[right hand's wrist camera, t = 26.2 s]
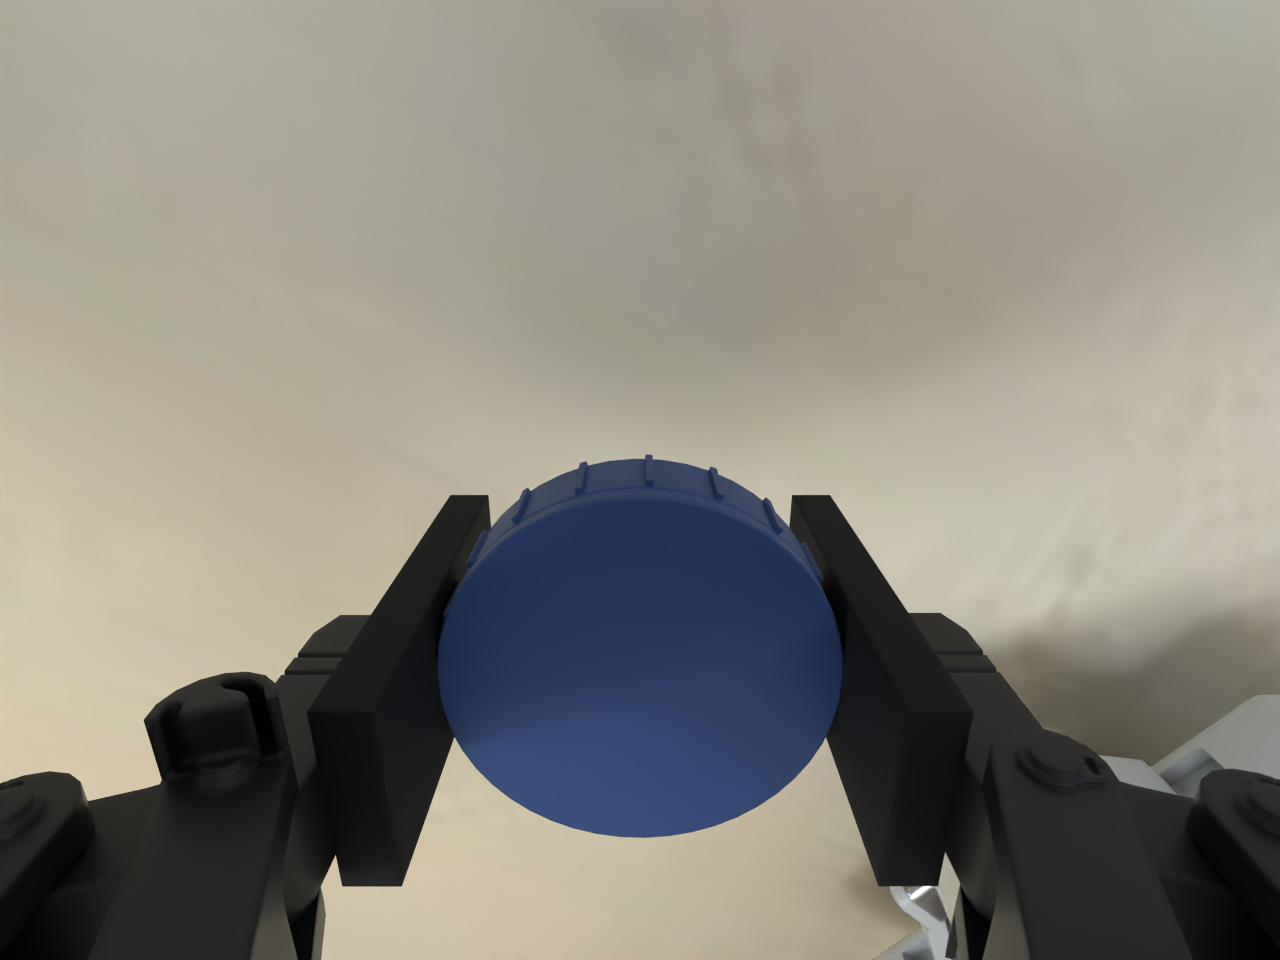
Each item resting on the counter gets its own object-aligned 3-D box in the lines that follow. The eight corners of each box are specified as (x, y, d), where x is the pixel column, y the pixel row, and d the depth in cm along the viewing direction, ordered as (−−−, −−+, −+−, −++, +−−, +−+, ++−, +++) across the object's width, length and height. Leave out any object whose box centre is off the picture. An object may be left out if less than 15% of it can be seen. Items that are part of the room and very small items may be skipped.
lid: (399, 511, 11) (360, 558, 10) (778, 405, 11) (801, 437, 9) (529, 798, 14) (514, 874, 12) (852, 723, 13) (881, 793, 11)
